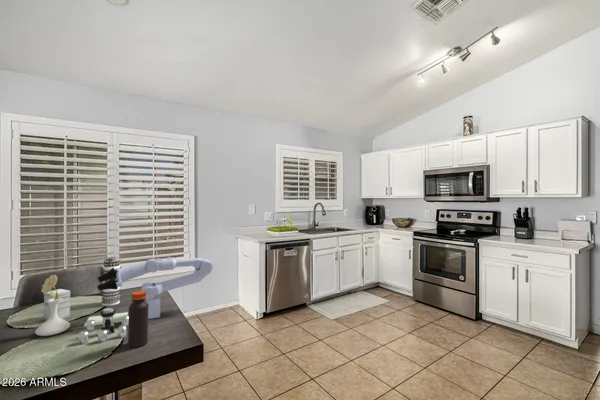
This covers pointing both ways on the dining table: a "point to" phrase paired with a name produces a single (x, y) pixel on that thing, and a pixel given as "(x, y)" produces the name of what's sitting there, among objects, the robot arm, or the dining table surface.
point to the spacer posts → (102, 331)
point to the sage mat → (99, 319)
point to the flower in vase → (52, 311)
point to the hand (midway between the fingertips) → (98, 283)
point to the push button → (108, 320)
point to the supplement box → (63, 305)
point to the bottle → (138, 320)
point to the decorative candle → (108, 295)
